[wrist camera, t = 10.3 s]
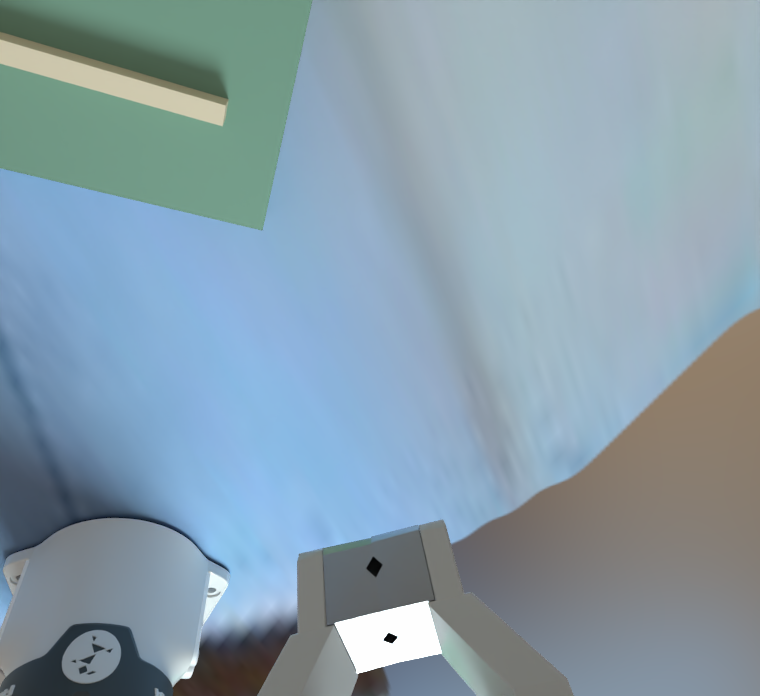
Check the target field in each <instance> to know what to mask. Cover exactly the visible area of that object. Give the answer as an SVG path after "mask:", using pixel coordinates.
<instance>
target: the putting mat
mask: <svg viewBox="0 0 760 696" xmlns="http://www.w3.org/2000/svg"><path fill="white" fill-rule="evenodd" d="M311 4H312V0H0V168H2V169H6V170H10V171H15V172H19V173H23V174H27V175H32V176H36V177H40V178H44V179H48V180H53V181H57V182H61V183H65V184H69V185H74V186H78V187H82V188H86V189H90V190H95V191H99V192H103V193H107V194H111V195H116V196H120V197H124V198H128V199H132V200H137V201H141V202H145V203H149V204H153V205H158V206H162V207H166V208H170V209H174V210H179V211H183V212H187V213H191V214H195V215H200V216H204V217H208V218H212V219H216V220H221V221H225V222H229V223H233V224H237V225H242V226H246V227H250V228H254V229H258V230H263V225H264V221H265V216H266V211H267V207H268V202H269V198H270V193H271V188H272V184H273V179H274V175H275V170H276V165H277V161H278V156H279V152H280V147H281V142H282V138H283V133H284V129H285V124H286V119H287V115H288V110H289V105H290V101H291V96H292V92H293V87H294V82H295V78H296V73H297V69H298V64H299V59H300V55H301V50H302V46H303V41H304V36H305V32H306V27H307V23H308V18H309V13H310V9H311Z"/></svg>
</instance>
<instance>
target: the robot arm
mask: <svg viewBox="0 0 760 696" xmlns="http://www.w3.org/2000/svg"><path fill="white" fill-rule="evenodd" d="M419 529H420V530H419ZM3 573H4V575H5V578H6V580H7V583H8V585H9V588H10V590H11V592H12V595H13V597H12V600H11V602H10V605H9V608H8V610H7V613H6V616H5V618H4V621H3V624H2V626H1V629H0V669H1V670H2V671H3V672H4V674H5V677H6V678H5V679H4V681H3V682H2V684H1V687H0V696H173V686H174V685H175V683H176V682H177V681H178V680H179V679H180V678H182V679H188V678H190V677H191V675H192V673H193V670H194V666H195V665H196V663H197V660H198V656H199V643H200V637H201V631H202V626H203V625H204V623H205V622H206V620H207V618H208V617H209V615H210V614H211V612H212V611H213V609H214V607H215V606H216V604H217V603H218V601H219V599H220V598H221V596H222V595H223V593H224V592H225V590H226V588H227V587H228V583H229V579H230V574H229V572H228V571H227V570H225V569H224V568H222V567H221V566H219V565H217V564H215V563H213V562H211V561H209V560H208V559H207V558H206V557H205V556H204V555H203V554H202V553H201V552H200V550H199V549H198V548H197V547H196V546H195V545H194V544H193V543H192V542H191V541H190V540H189V539H187V538H186V537H184V536H183V535H181V534H180V533H178V532H176V531H174V530H172V529H169V528H167V527H164V526H162V525H159V524H155V523H152V522H147V521H143V520H136V519H127V518H103V519H95V520H89V521H84V522H80V523H76V524H73V525H70V526H68V527H65V528H63V529H61V530H59V531H58V532H56V533H54V534H53V535H51V536H50V537H49V538H47V539H46V540H45V541H44V542H42V543H41V544H39V545H38V546H36V547H33V548H29V549H26V550H22V551H19V552H16V553H14V554H11V555H10V556H8V557H7V558H6V561H5V564H4V567H3ZM297 600H298V633H297V634H294V635H291V636H290V637H289V639H288V641H287V643H286V645H285V646H284V648H283V650H282V652H281V654H280V655H279V657H278V659H277V661H276V663H275V665H274V666H273V668H272V670H271V672H270V674H269V675H268V677H267V679H266V681H265V683H264V685H263V686H262V688H261V690H260V692H259V694H258V695H257V696H351V694H352V691H353V688H354V686H355V683H356V680H357V678H358V675H357V673H359V672H363V671H367V670H371V669H374V668H378V667H382V666H386V665H389V664H393V663H397V662H400V661H406V660H410V659H415V658H420V657H425V656H429V655H434V654H439V653H442V656H443V657H444V658H445V659H446V660H447V661H448V663H449V664H450V665H451V666H452V667H453V668H454V670H455V671H456V672H457V673H458V674H459V675H460V676H461V678H462V679H463V680H464V681H465V682H466V683H467V685H468V686H469V687H470V688H471V689H472V690H473V692H474V693H475V694H476V695H477V696H574V695H573V693H572V690H571V687H570V685H569V682H568V680H567V678H566V677H565V676H564V675H563V674H561V673H560V672H559V671H558V670H557V669H556V668H555V667H554V666H553V665H552V664H551V663H549V662H548V661H547V660H546V659H545V658H544V657H543V656H541V654H539V653H538V652H537V651H536V650H535V649H534V648H533V647H532V646H531V645H529V644H528V643H527V642H526V641H525V640H524V639H523V638H522V637H521V636H520V635H518V634H517V633H516V632H515V631H514V630H513V629H512V628H511V627H510V626H508V625H507V624H506V623H505V622H504V621H503V620H502V619H501V618H500V617H499V616H497V615H496V614H495V613H494V612H493V611H492V610H491V609H490V608H489V607H487V606H486V605H485V604H484V603H483V602H482V601H481V600H480V599H479V598H478V597H476V596H475V595H474V594H473V593H472V592H471V593H465V594H464V591H463V587H462V584H461V580H460V576H459V573H458V569H457V565H456V562H455V558H454V554H453V551H452V547H451V543H450V540H449V536H448V532H447V529H446V525H445V523H444V521H443V519H442V520H438V521H434V522H430V523H427V524H423V525H419V526H418V525H415V526H411V527H408V528H404V529H400V530H396V531H392V532H388V533H384V534H380V535H376V536H373V537H371V538H368V539H363V540H359V541H354V542H350V543H345V544H340V545H336V546H331V547H327V548H322V549H317V550H313V551H309V552H305V553H301V554H299V557H298V561H297Z"/></svg>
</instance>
